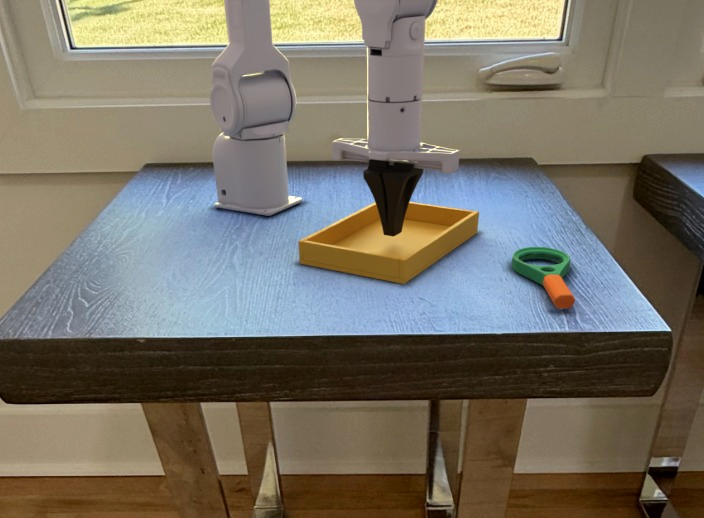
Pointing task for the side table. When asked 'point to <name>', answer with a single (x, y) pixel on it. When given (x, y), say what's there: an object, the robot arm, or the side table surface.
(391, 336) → the side table surface
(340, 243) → the tray
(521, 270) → the magnifying glass
